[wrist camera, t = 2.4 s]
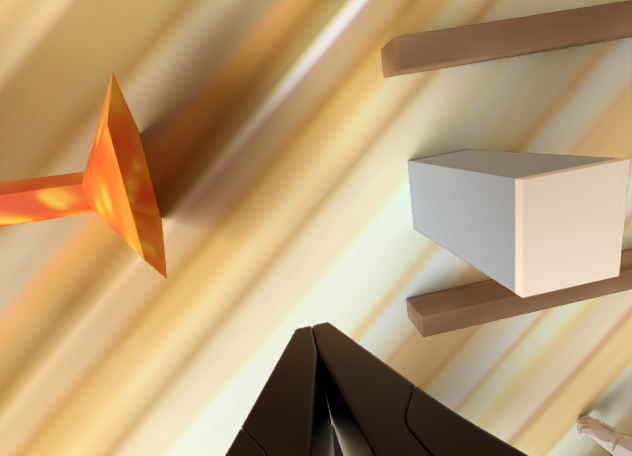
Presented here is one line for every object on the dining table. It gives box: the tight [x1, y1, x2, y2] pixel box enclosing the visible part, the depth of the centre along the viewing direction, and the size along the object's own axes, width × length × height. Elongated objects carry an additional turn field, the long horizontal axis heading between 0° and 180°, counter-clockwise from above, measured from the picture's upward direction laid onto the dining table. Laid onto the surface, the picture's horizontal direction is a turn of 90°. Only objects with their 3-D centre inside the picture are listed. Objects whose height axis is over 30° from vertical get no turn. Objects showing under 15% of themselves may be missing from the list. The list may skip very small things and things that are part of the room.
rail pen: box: [381, 0, 632, 337], centre depth 21 cm, size 18×24×2 cm
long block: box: [408, 150, 630, 298], centre depth 17 cm, size 4×4×10 cm
